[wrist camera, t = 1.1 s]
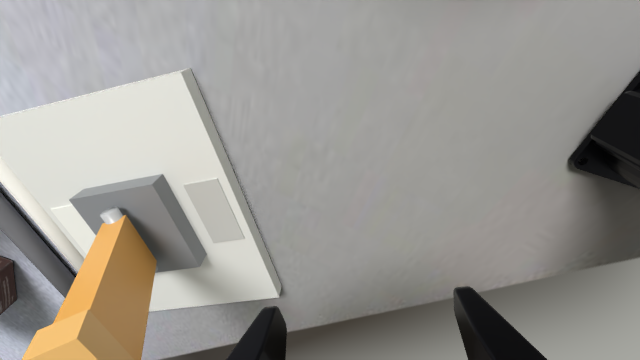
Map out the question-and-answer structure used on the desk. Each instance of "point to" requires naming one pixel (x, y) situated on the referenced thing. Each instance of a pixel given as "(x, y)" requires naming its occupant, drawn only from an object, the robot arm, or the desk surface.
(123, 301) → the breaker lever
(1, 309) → the box
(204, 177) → the breaker panel
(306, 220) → the desk surface
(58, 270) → the rods
